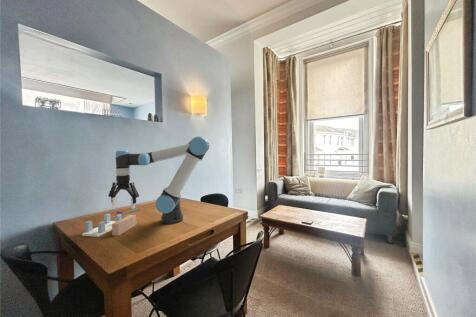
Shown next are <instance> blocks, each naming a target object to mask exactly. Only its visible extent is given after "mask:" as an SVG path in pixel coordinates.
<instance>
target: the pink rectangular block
mask: <svg viewBox="0 0 476 317" xmlns="http://www.w3.org/2000/svg"><path fill="white" fill-rule="evenodd" d="M135 226H137V214H129V215H127V216H125V217H124V218H123V217H122V219H121V220H119V221H117V222H115V223H113V224H112V230H111V232H112V233H111V235H112V236H116V237H117V236H120V235H122V234H123V233H125V232H127V231H128V230H130V229H131V228H133V227H135Z"/></svg>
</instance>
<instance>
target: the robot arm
mask: <svg viewBox="0 0 476 317" xmlns="http://www.w3.org/2000/svg"><path fill="white" fill-rule="evenodd" d="M209 149H210V143H209V141H208V139H207V138H205V137H203V136H199V135H198V136H195V137H193V138H192V139H191V140H190V141H189V142H187V143H185V144H182V145H177V146H173V147H172V146H171V147H169V148H164V149H158V150H156V151H151V152H146V153H130V151H129V150H116V151H115V166H116V167H115V175H116V176H115V181H114V182H112V184H111V188H110V191H109V193H108V195H107V196H108V197H109V198H111V204H112V205H111V206H112V209H115V208H117V207H118V205H117V204H118V203H117V195H118V193H119V192H120V191H121V190H125V191H126V192H127V193H128V194H129V196H130V197H131V199H130V202H131V204H130V206H131V210H135V208H136V203H137V198H139V197H140V195H139V192H138V190H137V188H136V186H135V182H133V181H132V182H130V181H131V176H130V174H131V172H130V170H131V169H130V168H131V167H130V166H148V165H150V164H154V163H157V162H162V161H166V160H171V159H175V158H180V157H183V156H184V158H183V161H181V164H180V166H178V169H177V171H176V172H175V174H174V176H173V178H172V179H171V182H170V183H169V185H168V186H167V187H164V189H163V190H162V192H161V194H160V195H159V197H157V199H156V200H155V207H156V210H157V211H158V212H160V213H162V214H161V215H162V216H161V219H160V220H161V221H160V222H161V223H162V224H164V225H167V224H168V225H172V224H177V223H181V222H182V221H183V220H184V215H183V212H182V209H181V197H182V195H181V192H182V191H183V189H184V187H185V185H186V184H187V181H188V180H189V179H190V177H191V175H192V173H193V171H194V169H195V168H196V166H197V164H198V163H199V162H200V161H203V158H204V157H205V155H206V153H208V152H209Z"/></svg>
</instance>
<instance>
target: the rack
mask: <svg viewBox="0 0 476 317" xmlns="http://www.w3.org/2000/svg"><path fill="white" fill-rule="evenodd" d="M103 216H104V217H103V219H104V221H103V220H101V221H100V222H97V227H94V228H93V226H94V225H93V220H88V221H85V222H84V223H85V224H84V226H85V230H84V231H85V232H83V233H81V236H82V237H94V238H95V237H97V238H99V237H101V236H102V235H104V234H106V233H108V232H111V231H112V224H113V223H115V222H117V221H119V220H121V219H123V215H122V214H121V213H118V214H117V215H115V216H116V217H115V221H114V220H111V219H112V218H111V213H106V214H104V215H103Z"/></svg>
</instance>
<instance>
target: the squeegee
mask: <svg viewBox="0 0 476 317" xmlns="http://www.w3.org/2000/svg"><path fill="white" fill-rule="evenodd" d="M138 210H140V208H139V207H138V208H136V209H135V208H134V209H131V210H130V211H125V212H124V211H116V214H122V216H123V215H126V214H129V213H133V212H136V211H138ZM113 218H116V215H114V216H110V219H113Z"/></svg>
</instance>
